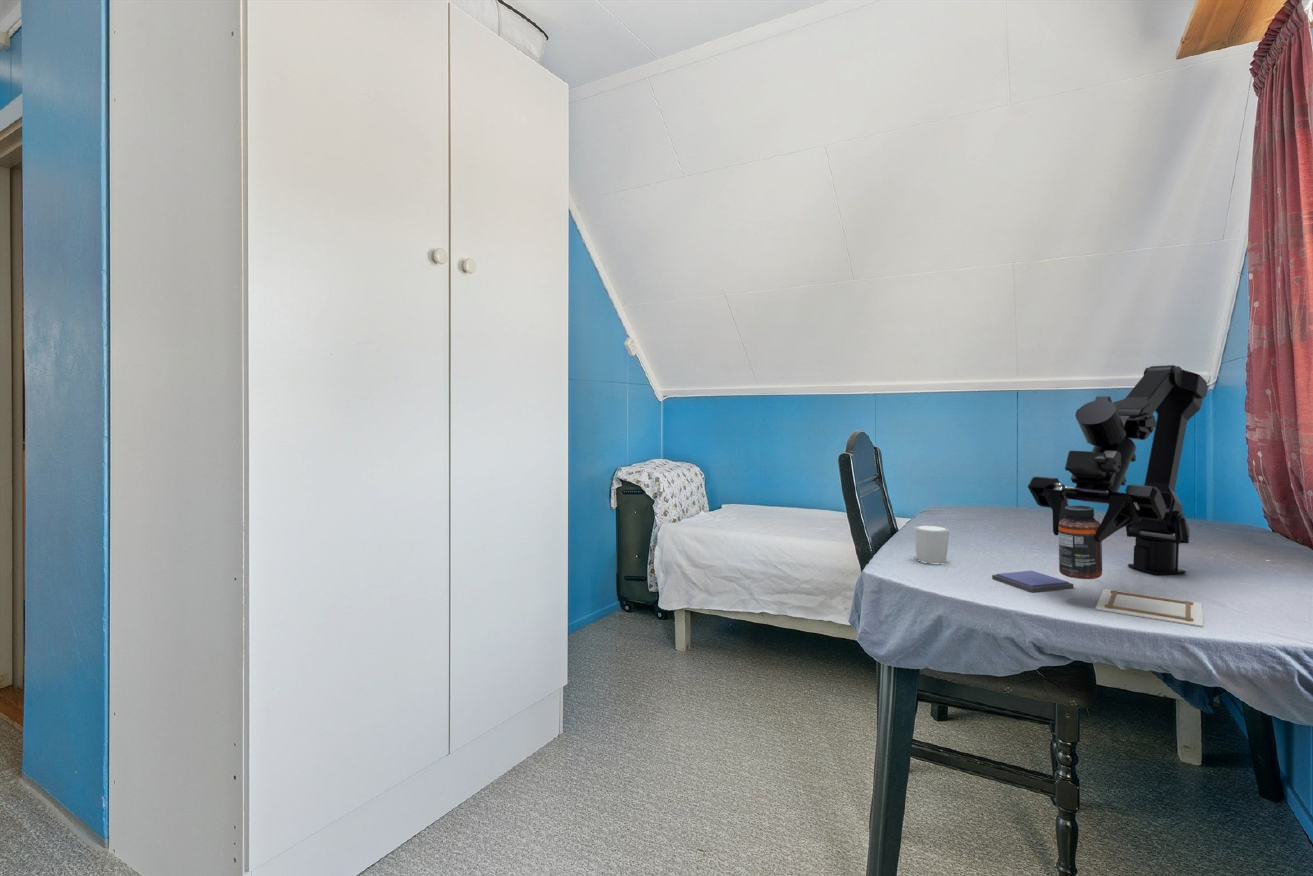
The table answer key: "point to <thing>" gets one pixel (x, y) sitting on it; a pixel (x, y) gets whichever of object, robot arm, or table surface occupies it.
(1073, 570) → the supplement bottle
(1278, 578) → the table surface
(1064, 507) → the robot arm
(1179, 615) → the marked sheet
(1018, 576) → the ink pad
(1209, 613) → the table surface
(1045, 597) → the table surface
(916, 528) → the white short cylinder
